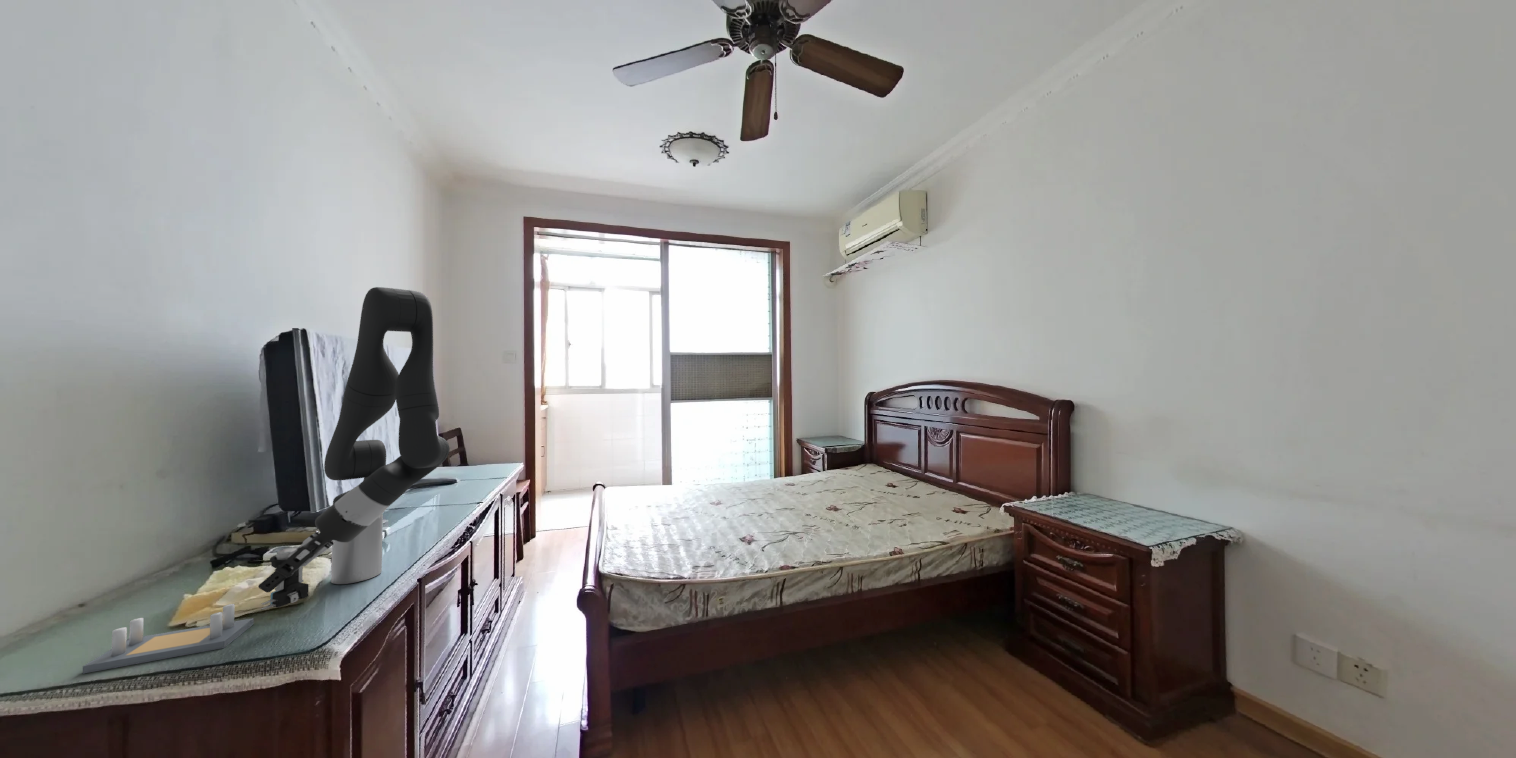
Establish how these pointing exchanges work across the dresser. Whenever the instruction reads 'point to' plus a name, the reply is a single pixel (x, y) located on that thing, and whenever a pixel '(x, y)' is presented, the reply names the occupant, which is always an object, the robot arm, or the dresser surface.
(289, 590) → the push button
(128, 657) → the pin tray
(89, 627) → the dresser surface
